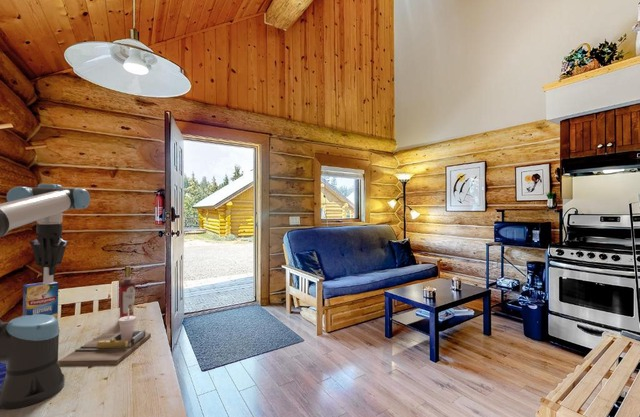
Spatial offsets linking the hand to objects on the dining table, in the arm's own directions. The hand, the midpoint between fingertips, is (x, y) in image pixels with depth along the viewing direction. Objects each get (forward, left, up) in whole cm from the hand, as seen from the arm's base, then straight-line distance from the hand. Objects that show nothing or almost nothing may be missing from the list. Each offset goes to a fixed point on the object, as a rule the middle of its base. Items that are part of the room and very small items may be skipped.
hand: (48, 283), depth 115 cm
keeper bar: (+2, -24, -27) cm, 36 cm away
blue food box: (+25, +24, -29) cm, 45 cm away
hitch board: (+5, -21, -28) cm, 35 cm away
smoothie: (+9, -25, -27) cm, 38 cm away
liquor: (+38, -8, -29) cm, 48 cm away
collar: (+10, -25, -27) cm, 38 cm away
